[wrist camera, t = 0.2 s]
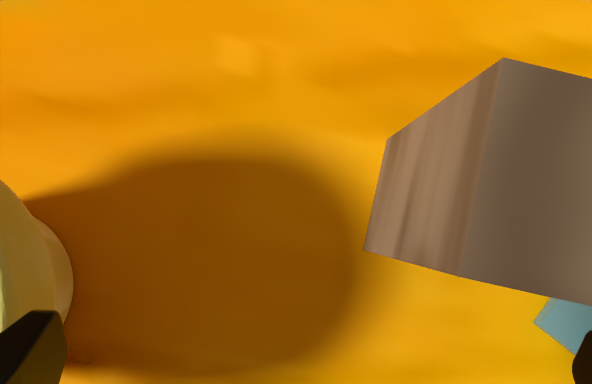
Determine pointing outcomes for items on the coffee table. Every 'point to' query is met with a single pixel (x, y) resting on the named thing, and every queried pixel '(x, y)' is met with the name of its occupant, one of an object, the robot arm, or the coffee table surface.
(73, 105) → the coffee table surface
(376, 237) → the block
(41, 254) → the plant pot
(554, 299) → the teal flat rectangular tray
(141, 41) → the coffee table surface
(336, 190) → the coffee table surface
